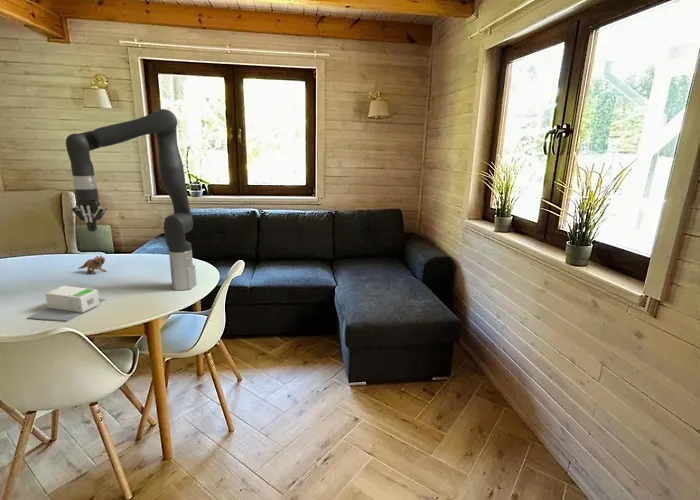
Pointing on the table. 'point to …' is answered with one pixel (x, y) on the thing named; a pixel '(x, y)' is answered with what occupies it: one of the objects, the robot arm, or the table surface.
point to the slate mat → (56, 314)
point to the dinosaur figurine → (94, 264)
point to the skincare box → (72, 298)
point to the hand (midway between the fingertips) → (92, 231)
